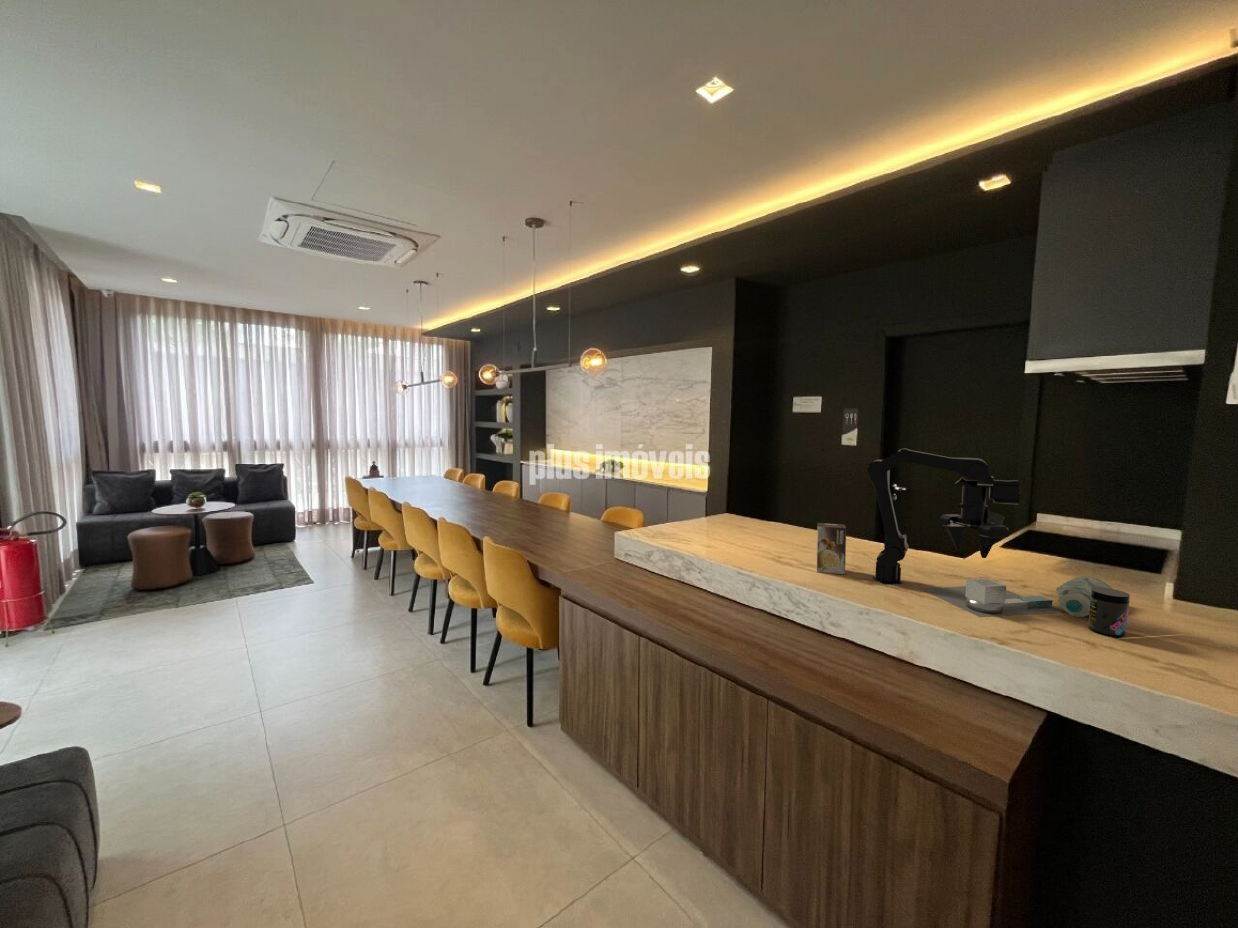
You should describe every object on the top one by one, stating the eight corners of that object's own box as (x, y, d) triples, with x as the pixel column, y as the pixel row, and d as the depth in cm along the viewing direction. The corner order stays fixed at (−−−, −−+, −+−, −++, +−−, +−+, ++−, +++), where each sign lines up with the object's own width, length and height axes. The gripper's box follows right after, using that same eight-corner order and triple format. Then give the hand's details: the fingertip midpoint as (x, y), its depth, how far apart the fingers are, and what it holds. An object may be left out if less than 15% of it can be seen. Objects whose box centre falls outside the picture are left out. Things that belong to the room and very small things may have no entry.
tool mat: (979, 618, 129) (979, 616, 129) (919, 589, 151) (919, 588, 151) (1064, 613, 132) (1064, 612, 132) (993, 585, 154) (993, 584, 154)
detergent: (1062, 592, 147) (1035, 609, 133) (1067, 569, 146) (1040, 584, 132) (1124, 609, 137) (1101, 630, 123) (1129, 585, 136) (1107, 603, 121)
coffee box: (844, 569, 171) (846, 524, 169) (845, 574, 165) (847, 528, 163) (816, 566, 174) (817, 522, 173) (815, 571, 168) (817, 525, 167)
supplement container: (1104, 638, 117) (1108, 596, 116) (1079, 626, 123) (1083, 586, 122) (1134, 639, 116) (1138, 597, 115) (1108, 627, 123) (1112, 587, 122)
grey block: (984, 604, 131) (985, 586, 131) (965, 596, 137) (966, 579, 137) (1005, 603, 132) (1006, 585, 131) (985, 595, 138) (986, 578, 137)
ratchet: (983, 615, 130) (984, 592, 130) (959, 603, 138) (960, 582, 138) (1060, 610, 133) (1062, 588, 132) (1032, 599, 141) (1033, 579, 140)
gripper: (1028, 506, 135) (1024, 561, 137) (972, 495, 154) (969, 544, 155) (991, 507, 134) (988, 563, 135) (939, 496, 152) (937, 545, 154)
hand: (970, 553), depth 145 cm, fingers open, 9 cm apart
